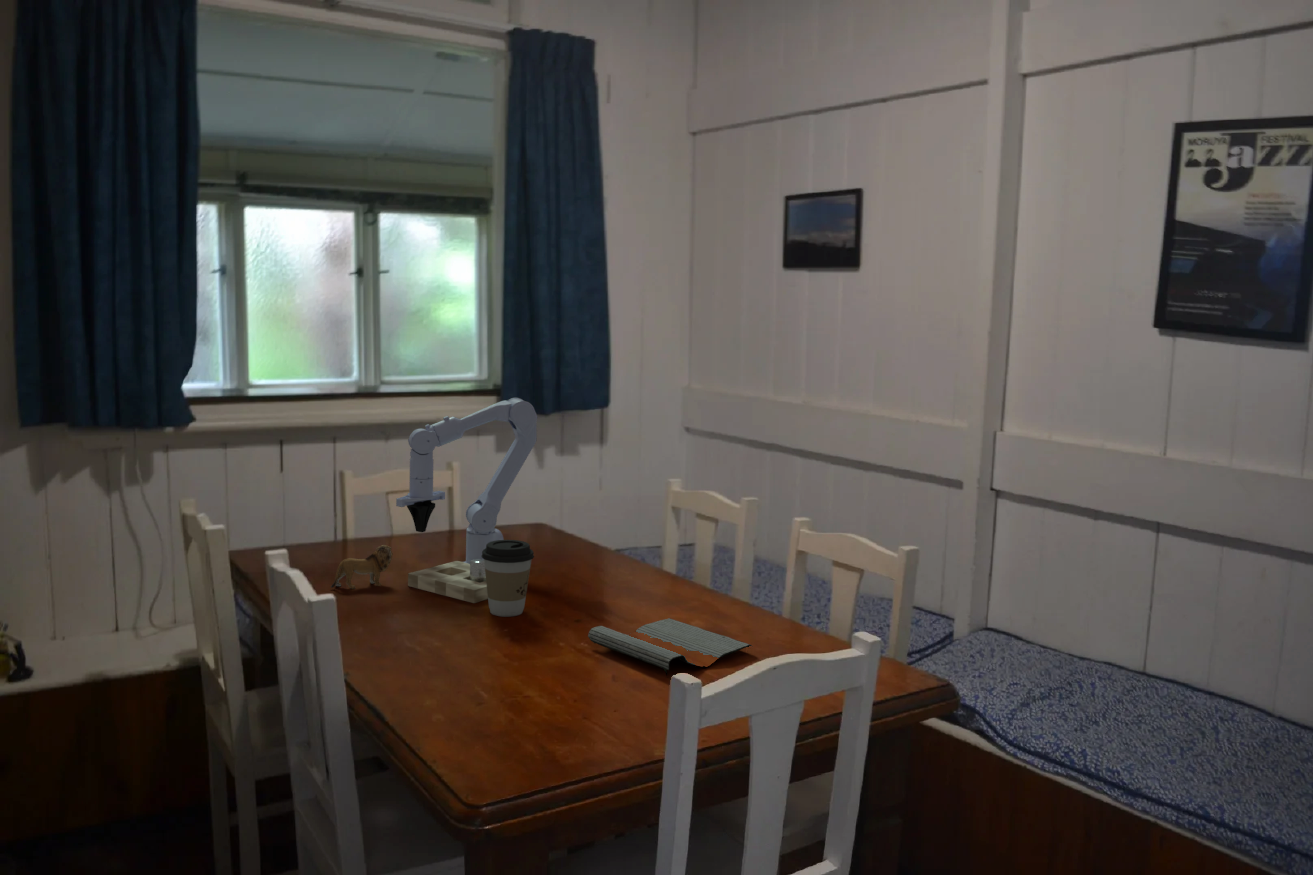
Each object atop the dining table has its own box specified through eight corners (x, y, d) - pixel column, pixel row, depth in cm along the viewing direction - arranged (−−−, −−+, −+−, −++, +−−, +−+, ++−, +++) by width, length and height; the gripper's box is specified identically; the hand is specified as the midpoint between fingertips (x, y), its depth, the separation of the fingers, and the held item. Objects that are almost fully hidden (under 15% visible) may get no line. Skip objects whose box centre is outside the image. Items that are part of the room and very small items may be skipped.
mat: (753, 657, 198) (754, 633, 198) (667, 684, 182) (668, 658, 182) (671, 627, 215) (672, 605, 214) (586, 649, 199) (587, 626, 198)
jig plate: (456, 572, 249) (456, 560, 248) (521, 588, 237) (521, 575, 237) (407, 585, 235) (408, 573, 235) (474, 603, 224) (474, 590, 224)
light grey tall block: (475, 587, 237) (476, 558, 236) (490, 589, 235) (490, 560, 234) (466, 591, 233) (466, 561, 232) (480, 593, 231) (481, 564, 231)
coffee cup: (522, 622, 212) (524, 552, 210) (471, 616, 214) (473, 548, 213) (539, 606, 223) (541, 541, 221) (491, 601, 226) (492, 536, 224)
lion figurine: (387, 578, 241) (387, 542, 240) (396, 583, 237) (396, 546, 236) (326, 587, 232) (326, 549, 231) (335, 592, 228) (335, 554, 226)
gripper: (431, 472, 257) (430, 524, 258) (387, 478, 244) (387, 533, 246) (451, 475, 253) (450, 528, 254) (408, 482, 241) (407, 538, 242)
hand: (420, 531), depth 250 cm, fingers closed
